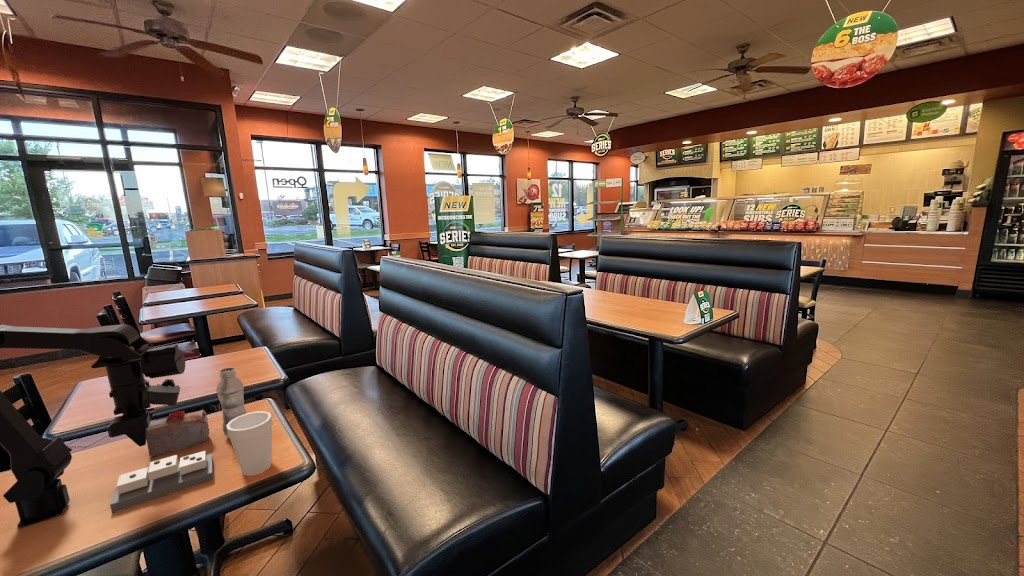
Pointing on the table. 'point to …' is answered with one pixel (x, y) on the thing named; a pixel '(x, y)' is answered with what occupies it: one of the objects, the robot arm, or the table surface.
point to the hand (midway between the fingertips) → (142, 445)
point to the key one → (132, 480)
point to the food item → (177, 432)
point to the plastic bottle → (230, 396)
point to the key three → (193, 462)
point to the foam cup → (252, 441)
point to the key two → (163, 467)
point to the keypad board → (163, 486)
